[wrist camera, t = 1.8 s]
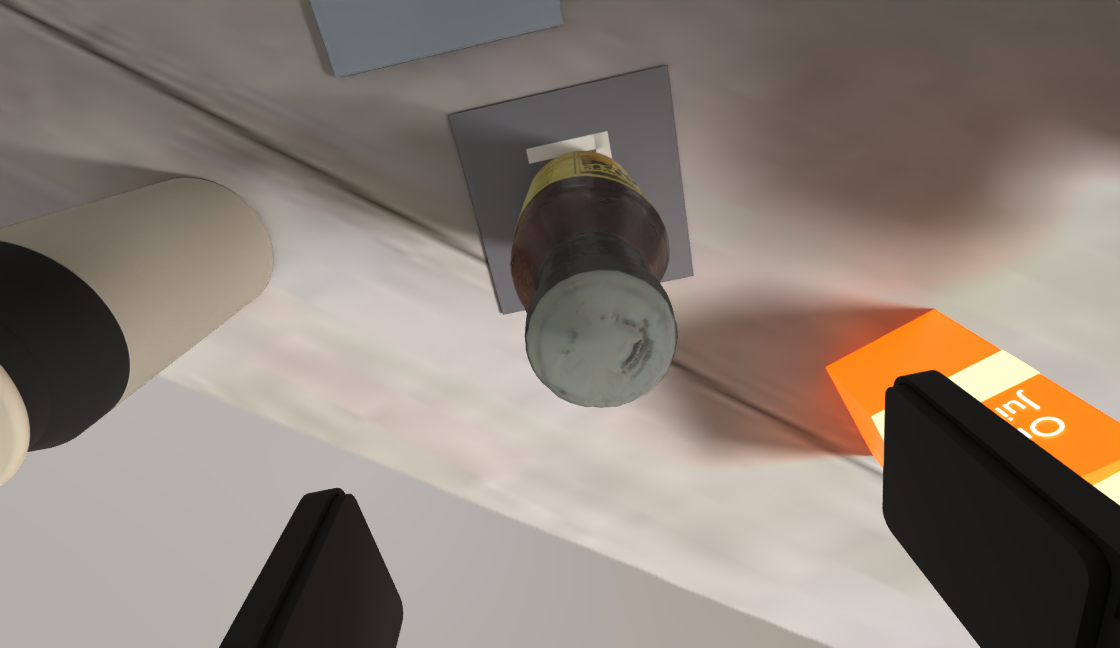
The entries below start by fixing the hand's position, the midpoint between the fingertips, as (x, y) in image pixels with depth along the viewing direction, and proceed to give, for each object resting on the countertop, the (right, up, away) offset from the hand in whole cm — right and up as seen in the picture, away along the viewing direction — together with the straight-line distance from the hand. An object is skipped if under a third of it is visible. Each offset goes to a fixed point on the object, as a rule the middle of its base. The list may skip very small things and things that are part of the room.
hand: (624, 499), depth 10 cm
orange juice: (+22, -1, +29) cm, 37 cm away
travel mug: (-22, +8, +24) cm, 34 cm away
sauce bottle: (0, +10, +23) cm, 25 cm away
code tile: (0, +10, +23) cm, 26 cm away
